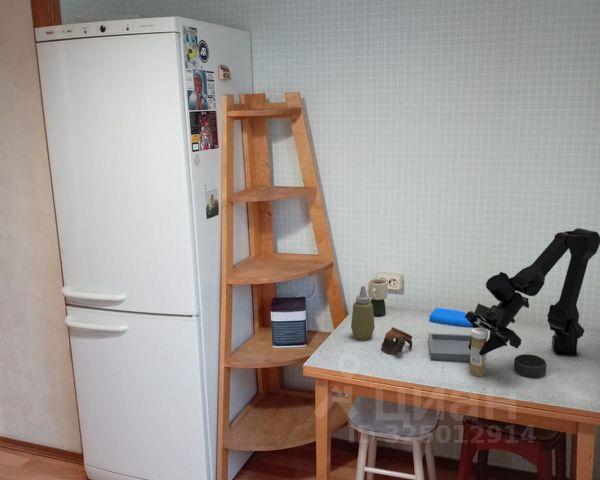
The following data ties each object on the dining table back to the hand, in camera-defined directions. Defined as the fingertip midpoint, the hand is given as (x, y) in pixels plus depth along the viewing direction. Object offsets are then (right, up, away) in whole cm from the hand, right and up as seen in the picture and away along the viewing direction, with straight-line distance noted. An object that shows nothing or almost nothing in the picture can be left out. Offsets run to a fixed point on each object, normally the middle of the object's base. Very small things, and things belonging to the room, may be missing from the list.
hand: (474, 351), depth 170 cm
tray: (-1, -3, +17) cm, 18 cm away
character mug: (-21, +4, +51) cm, 56 cm away
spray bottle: (+9, +2, +42) cm, 43 cm away
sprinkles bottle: (+1, -7, +2) cm, 7 cm away
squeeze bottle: (-29, -1, +30) cm, 42 cm away
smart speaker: (+17, -7, +2) cm, 18 cm away
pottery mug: (-19, -3, +19) cm, 27 cm away
